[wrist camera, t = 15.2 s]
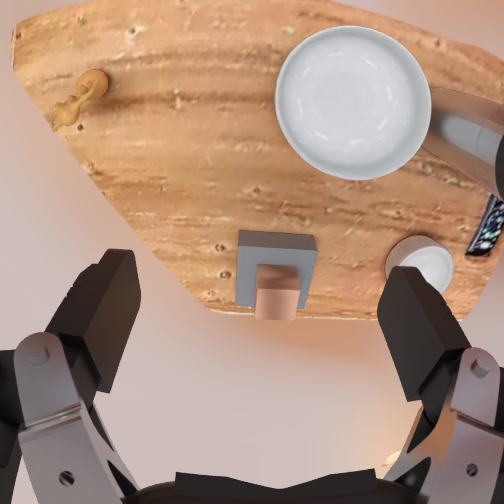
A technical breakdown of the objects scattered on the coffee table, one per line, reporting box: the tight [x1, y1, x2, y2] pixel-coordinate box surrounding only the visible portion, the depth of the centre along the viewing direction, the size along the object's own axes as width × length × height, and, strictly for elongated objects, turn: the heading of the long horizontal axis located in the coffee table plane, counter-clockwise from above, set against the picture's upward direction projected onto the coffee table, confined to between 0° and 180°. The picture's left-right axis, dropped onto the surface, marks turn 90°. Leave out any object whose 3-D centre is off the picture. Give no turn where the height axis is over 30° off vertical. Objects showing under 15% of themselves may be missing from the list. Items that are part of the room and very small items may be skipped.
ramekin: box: [385, 235, 454, 294], centre depth 43 cm, size 11×11×5 cm
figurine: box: [51, 69, 108, 132], centre depth 27 cm, size 8×6×12 cm
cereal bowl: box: [274, 25, 431, 180], centre depth 30 cm, size 17×17×7 cm
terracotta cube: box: [255, 264, 300, 320], centre depth 40 cm, size 5×5×5 cm
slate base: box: [235, 230, 317, 309], centre depth 44 cm, size 10×10×4 cm
